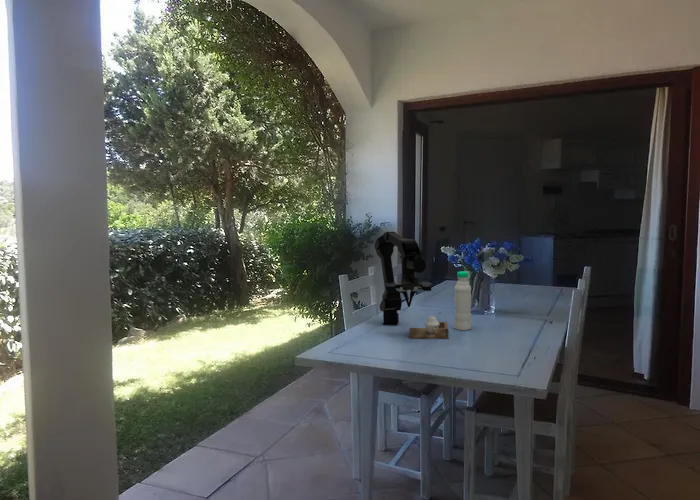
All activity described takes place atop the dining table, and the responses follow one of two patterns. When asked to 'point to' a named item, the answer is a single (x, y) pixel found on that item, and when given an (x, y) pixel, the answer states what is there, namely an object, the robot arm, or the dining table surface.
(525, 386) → the dining table surface
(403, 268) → the robot arm
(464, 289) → the white milk bottle
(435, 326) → the muffin
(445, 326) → the channel bracket
